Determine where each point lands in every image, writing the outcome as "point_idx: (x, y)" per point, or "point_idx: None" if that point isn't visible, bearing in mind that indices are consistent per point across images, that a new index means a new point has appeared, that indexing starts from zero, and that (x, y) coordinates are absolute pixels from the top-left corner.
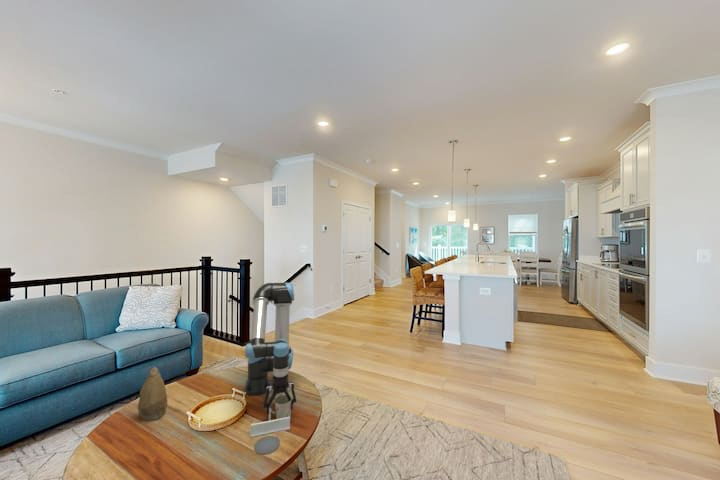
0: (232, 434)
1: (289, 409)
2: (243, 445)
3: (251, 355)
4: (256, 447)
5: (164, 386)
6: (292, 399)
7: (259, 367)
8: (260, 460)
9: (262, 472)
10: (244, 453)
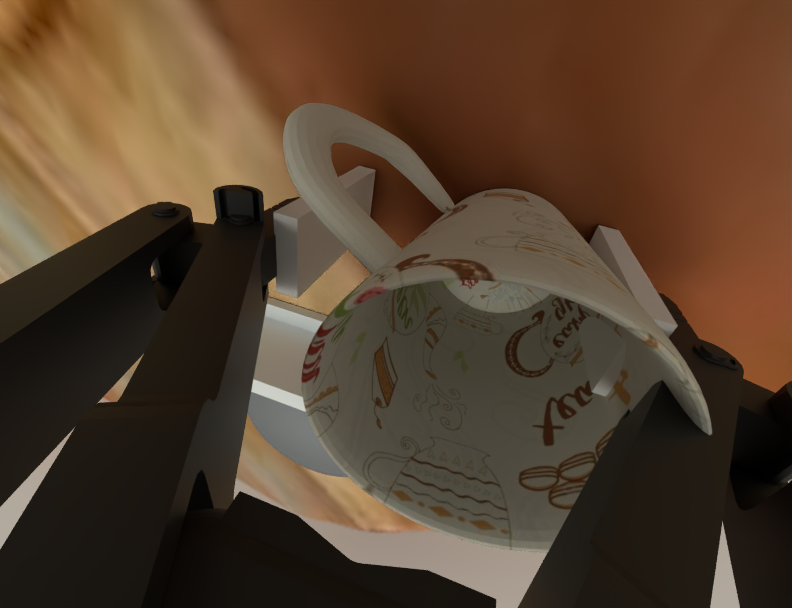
0: (96, 212)
1: (556, 402)
2: None
3: None
4: (257, 411)
5: None
6: (738, 409)
7: None
8: (280, 468)
9: (286, 506)
10: None
